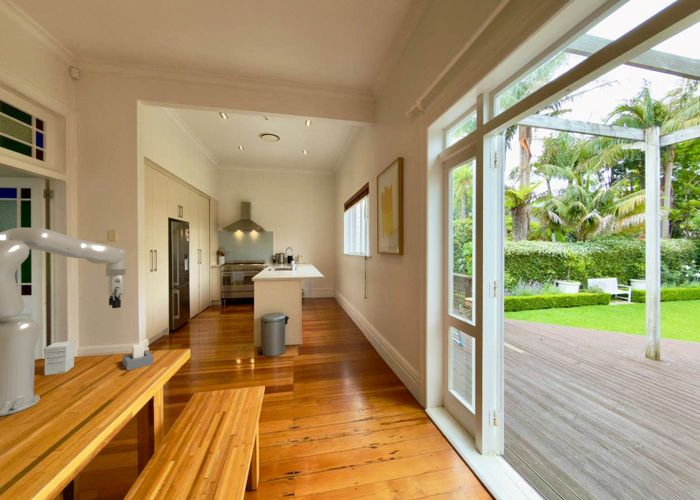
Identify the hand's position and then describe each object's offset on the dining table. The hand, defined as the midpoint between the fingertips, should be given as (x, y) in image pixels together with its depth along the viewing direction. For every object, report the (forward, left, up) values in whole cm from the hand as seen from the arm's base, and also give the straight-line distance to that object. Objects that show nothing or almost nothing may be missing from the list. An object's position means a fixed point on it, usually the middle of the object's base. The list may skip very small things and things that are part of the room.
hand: (114, 306), depth 133 cm
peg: (-11, -8, -28) cm, 31 cm away
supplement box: (+5, +18, -28) cm, 34 cm away
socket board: (-11, -8, -28) cm, 31 cm away
